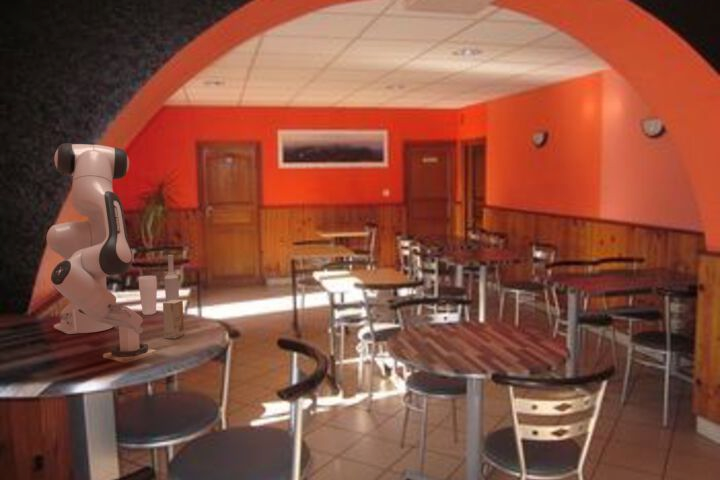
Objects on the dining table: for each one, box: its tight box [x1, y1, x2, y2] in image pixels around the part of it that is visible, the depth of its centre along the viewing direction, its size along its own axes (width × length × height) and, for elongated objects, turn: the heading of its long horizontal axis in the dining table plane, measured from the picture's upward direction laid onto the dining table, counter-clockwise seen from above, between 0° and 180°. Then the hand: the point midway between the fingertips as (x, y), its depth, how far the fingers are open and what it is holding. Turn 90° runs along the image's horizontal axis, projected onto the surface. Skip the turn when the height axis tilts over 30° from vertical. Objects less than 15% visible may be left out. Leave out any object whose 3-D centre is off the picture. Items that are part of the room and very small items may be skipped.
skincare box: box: [162, 299, 185, 340], centre depth 203 cm, size 6×4×12 cm
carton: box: [118, 326, 140, 351], centre depth 182 cm, size 4×4×9 cm
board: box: [102, 342, 158, 364], centre depth 182 cm, size 11×11×2 cm
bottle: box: [163, 254, 180, 302], centre depth 227 cm, size 5×5×25 cm
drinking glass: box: [138, 275, 158, 316], centre depth 239 cm, size 7×7×15 cm
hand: (130, 329), depth 182 cm, fingers open, 8 cm apart
